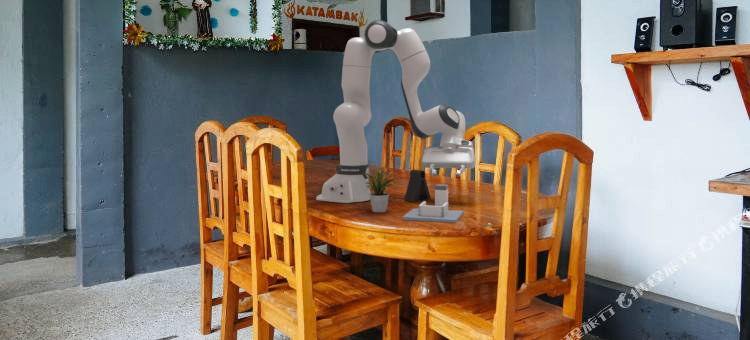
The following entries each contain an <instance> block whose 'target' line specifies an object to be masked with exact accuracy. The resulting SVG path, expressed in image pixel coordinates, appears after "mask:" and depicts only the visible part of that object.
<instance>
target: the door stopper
mask: <svg viewBox="0 0 750 340" xmlns="http://www.w3.org/2000/svg"><path fill="white" fill-rule="evenodd" d="M407 183H408V184H407V188H406V192H405V195H404V198H403V200H404V201H407V202H411V203H420V202H424V201H426V202H427V201H431V200H432V197H431V194H430V190H429V187H428V183H427V179H426V172H425V171H424V170H420V169H410V171H409V180H408V182H407Z"/></svg>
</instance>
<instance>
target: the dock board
mask: <svg viewBox="0 0 750 340" xmlns="http://www.w3.org/2000/svg"><path fill="white" fill-rule="evenodd" d="M464 214H465V213H464V210H453V209H452V210H451V209H449V202H448V203H447V202H446V203H445V204H444V205H443V206H435V205H428V204H427V201H421V203H420V204H419V205H418V207H417V208H416V207H415V208H413V209H411V210H409V211H408V212H407V213H405V214H404V215H402V221H419V222H430V223H431V222H434V223H450V224H451V223H453V224H456V223H458V221H459V220H460V219H461V218H462V217H463V215H464Z"/></svg>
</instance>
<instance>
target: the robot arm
mask: <svg viewBox="0 0 750 340" xmlns="http://www.w3.org/2000/svg"><path fill="white" fill-rule="evenodd" d="M389 49H390V50H392V51H393V52H394V53H395V55H396V56H397V59H398V62H399V64H400V66H401V70H402V76H401V78H400V87H401V90H402V95H403V99H404V102H405V105H406V109H407V112H408V116H409V121H410V123H409V124H410V128H411V130H412V131H411V132H412V133H413V134H414V135H415V136H416V137H418V138H420V139H423V140H425V139H428V138H430V137H432V136H433V135H436V134H438V133H440V134H441V137H440V138H441V139H440V141H439V146H430V145H429V146H428V147H426V148H424V150H423V156H422V160H421V164H422V166H423V167H424V168H425V169H426V168H430V170H431V176H432V177H437V170H436V169H437V168H438V169H440V168H441V169H459V170H456V177H458V178H461V177H462V174H463V173H464V172H465V171H466V169H467V170H469V169H474V168H475V167H476V156H475V148H474V144H473V141H470V140H466V139H464V137H465V136H466V135H465V134H466V127H467V126H466V118H465V116H464V114H463V113H462V112H461V111H459V110H455V109H454V108H453V107H452V106H449V105H448V104H444V103H441V104H440V105H437V106H435V107H432V108H429V109H428V110H426V111H423V110H422V107H421V103H420V99H419V97H418V87H419V85H420V84H421V83H422V81H424V79H425V78H426V77H427V75H428V74H429V71H430V68H431V59H430V56H429V53H428V51H427V50H426V47H425V46H424V43H423V41H422V40H421V38H420V37H419V35H418V33H417V32H416V31H415V30H414V29H413V28H410V27H408V28H407V27H406V28H402V29H399V30H397V29H396V28H394V26H392V25H391V24H390V23H389V22H386V21H384V20H381V19H376V20H373V21H371V22H369V23H368V24H367V25H366V27H365V29H364V34H363V36H362V37H361V36H359V37H351V38H350V39H349V40H348V41H347V43H346V45H345V49H344V53H343V61H342V71H341V72H342V73H341V89H342V94H343V102H342V103H341V104H340V105H338V106H337V107H336V108H335V110H334V112H333V115H332V118H333V122H334V124H335V127H336V128H335V129H336V133H337V137H338V143H339V160H340V161H339V164H338V165H337V166H334V171H335V174H334V175H333V176H331V177H330V178H329V179H328V180H326V181H325V182H324V183H323V185H322V189H321V193H320V194H318V195H317V196H316V197H315V199H316V201H321V202H331V203H333V202H334V203H342V204H351V203H359V202H367V201H371V200H370V194H371V193H372V192H371V190H370V189H367V188H370V187H367V185H368V186H370V185H369V184H366V182H369V181H370V180H369V179H370V177H369V176H368V175H367V174H365V173H368V174H369V173H370V167H369V166H370V165H369V163H368V159H369V158H368V143H367V139H366V135H365V130H364V129H365V127H367V125H368V124H369V123H370V121H371V120H372V110H371V94H370V84H371V83H370V82H371V72H372V71H371V70H372V68H371V67H372V59H373V56H374V54H376V53H379V52H384V51H385V52H386V51H388V50H389ZM366 175H367V176H366ZM369 175H370V174H369ZM369 183H370V182H369ZM366 187H367V188H366ZM366 189H367V190H366Z"/></svg>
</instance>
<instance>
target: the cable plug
mask: <svg viewBox="0 0 750 340" xmlns="http://www.w3.org/2000/svg"><path fill="white" fill-rule="evenodd" d="M446 202H447V203H448V204H449V184H446V183H445V184H444V183H441V184H440V183H436V184H435V185H434V206H443V205H444V204H445V203H446Z"/></svg>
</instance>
